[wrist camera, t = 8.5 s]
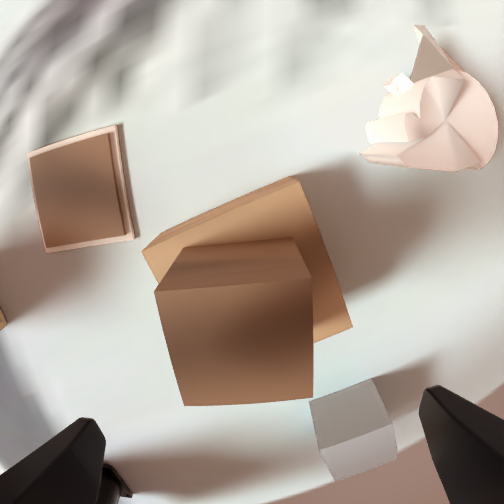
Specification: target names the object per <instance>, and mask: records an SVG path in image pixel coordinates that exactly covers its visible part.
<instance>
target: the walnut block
mask: <svg viewBox="0 0 504 504" xmlns="http://www.w3.org/2000/svg"><path fill="white" fill-rule="evenodd" d="M154 294H155V298H156V303H157V307H158V311H159V315H160V320H161V324H162V328H163V332H164V336H165V340H166V344H167V347H168V351H169V355H170V359H171V362H172V366H173V369H174V373H175V376H176V380H177V383H178V387H179V390H180V393H181V397H182V400H183V403H184V406H213V405H237V404H253V403H265V402H276V401H286V400H295V399H304V398H312V397H313V292H312V277H311V275H310V272H309V270H308V268H307V266H306V264H305V262H304V260H303V258H302V256H301V254H300V252H299V250H298V248H297V246H296V244H295V242H294V240H293V238H292V237H288V238H278V239H267V240H256V241H246V242H236V243H225V244H215V245H205V246H195V247H185V248H183V249H182V250H181V252H180V253H179V255H178V256H177V258H176V259H175V261H174V262H173V264H172V265H171V267H170V268H169V270H168V271H167V273H166V274H165V276H164V277H163V279H162V280H161V282H160V283H159V285H158V286H157V288H156V289H155V291H154Z"/></svg>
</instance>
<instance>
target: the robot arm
mask: <svg viewBox="0 0 504 504" xmlns="http://www.w3.org/2000/svg"><path fill="white" fill-rule="evenodd" d="M419 417H420V420H421V423H422V427H423V430H424V433H425V436H426V440H427V443H428V447H429V449H430V453H431V456H432V460H433V462H434V465H435V467H436V470H437V472H438V474H439V477H440V479H441V482H442V484H443V487H444V489H445V492H446V494H447V497H448V499H449V502H450V504H504V420H503V419H501V418H499V417H498V416H496V415H494V414H492V413H490V412H488V411H486V410H484V409H483V408H481V407H479V406H477V405H475V404H473V403H471V402H470V401H468V400H466V399H464V398H462V397H460V396H459V395H457V394H455V393H453V392H451V391H450V390H448V389H446V388H444V387H442V386H440V385H435V386H432V387H429V388H426V389H425V390H424V393H423V396H422V400H421V404H420V408H419ZM105 446H106V440H105V437H104V435H103V433H102V431H101V430H100V428H99V426H98V425H97V423H96V421H95V420H94V419H92V418H84V417H81V418H79V419H77V420H76V421H75V422H73V423H72V424H71V425H69V426H68V427H67V428H65V429H64V430H62V431H61V432H60V433H58V434H57V435H56V436H54V437H53V438H52V439H50V440H49V441H47V442H46V443H45V444H43V445H42V446H41V447H39V448H38V449H36V450H35V451H34V452H32V453H31V454H29V455H28V456H27V457H25V458H24V459H22V460H21V461H20V462H18V463H17V464H15V465H14V466H13V467H11V468H10V469H8V470H7V471H5V472H4V473H3V474H1V475H0V504H118V501H119V498H120V496H122V497H128V498H132V495H133V494H132V492H131V491H130V490H129V489H128V487H127V486H126V485H125V483H124V482H123V481H122V479H121V478H120V477H119V475H118V474H117V472H116V471H115V470H114V468H113V467H112V466H110V465H105V464H103V459H104V453H105Z"/></svg>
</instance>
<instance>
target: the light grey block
mask: <svg viewBox="0 0 504 504" xmlns="http://www.w3.org/2000/svg"><path fill="white" fill-rule="evenodd" d="M309 404H310V409H311V414H312V418H313V423H314V428H315V433H316V437H317V442H318V447H319V451H320V453H321V455H322V457H323V459H324V461H325V463H326V465H327V467H328V469H329V471H330V473H331V475H332V477H333V479H334V481H339V480H342V479H345V478H348V477H351V476H354V475H356V474H360V473H362V472H365V471H368V470H371V469H373V468H376V467H378V466H381V465H384V464H386V463H388V462H391V461H393V460H396V459H398V454H397V447H396V441H395V434H394V428H393V423H392V420H391V418H390V416H389V414H388V412H387V410H386V408H385V405H384V403H383V401H382V399H381V397H380V395H379V393H378V391H377V389H376V386H375V384H374V382H373V380H372V378H370V379H368V380H365V381H363V382H360V383H358V384H355V385H353V386H350V387H348V388H345V389H343V390H340V391H337V392H334V393H332V394H329V395H326V396H323V397H320V398H318V399H315V400H312V401H309Z"/></svg>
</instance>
